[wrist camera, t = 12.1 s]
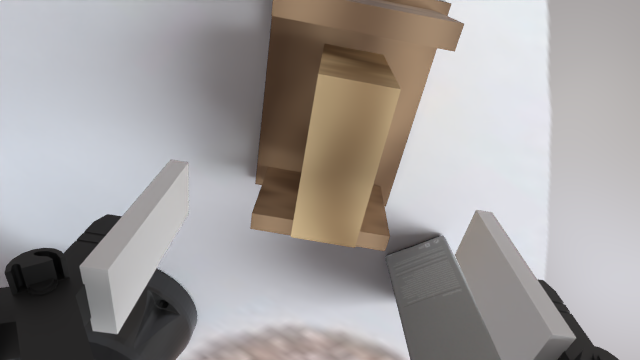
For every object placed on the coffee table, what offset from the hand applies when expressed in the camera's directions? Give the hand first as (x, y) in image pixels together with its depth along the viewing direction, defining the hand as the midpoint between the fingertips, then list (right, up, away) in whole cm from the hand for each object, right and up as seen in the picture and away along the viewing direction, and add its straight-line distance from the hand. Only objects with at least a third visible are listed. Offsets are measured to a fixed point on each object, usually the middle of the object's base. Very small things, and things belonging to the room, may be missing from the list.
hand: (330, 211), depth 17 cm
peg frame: (+1, +8, +13) cm, 15 cm away
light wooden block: (+1, +6, +10) cm, 12 cm away
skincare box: (+11, -8, +22) cm, 26 cm away
